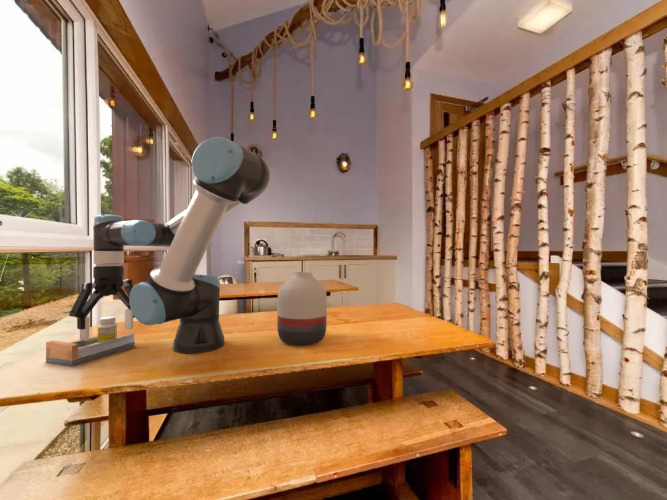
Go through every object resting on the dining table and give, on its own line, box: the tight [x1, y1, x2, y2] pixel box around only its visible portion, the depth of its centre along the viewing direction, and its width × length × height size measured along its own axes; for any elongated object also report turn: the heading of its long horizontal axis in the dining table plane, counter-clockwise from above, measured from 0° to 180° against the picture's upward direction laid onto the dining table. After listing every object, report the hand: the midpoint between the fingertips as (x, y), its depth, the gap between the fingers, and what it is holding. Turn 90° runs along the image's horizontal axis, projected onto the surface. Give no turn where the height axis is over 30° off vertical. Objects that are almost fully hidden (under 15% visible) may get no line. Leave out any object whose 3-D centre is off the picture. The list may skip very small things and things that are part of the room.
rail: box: [45, 333, 136, 367], centre depth 90 cm, size 10×18×6 cm, turn 163°
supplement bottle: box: [97, 316, 118, 342], centre depth 93 cm, size 5×5×8 cm
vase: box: [276, 271, 328, 347], centre depth 105 cm, size 17×17×24 cm
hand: (108, 334), depth 93 cm, fingers open, 13 cm apart
